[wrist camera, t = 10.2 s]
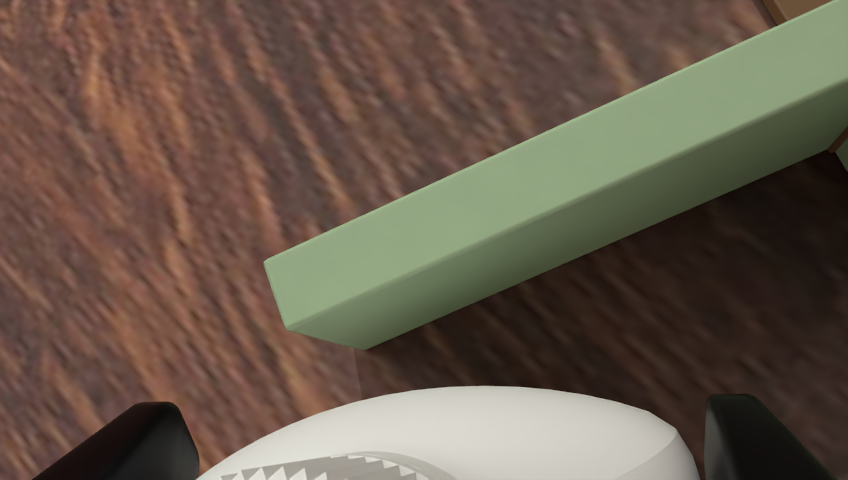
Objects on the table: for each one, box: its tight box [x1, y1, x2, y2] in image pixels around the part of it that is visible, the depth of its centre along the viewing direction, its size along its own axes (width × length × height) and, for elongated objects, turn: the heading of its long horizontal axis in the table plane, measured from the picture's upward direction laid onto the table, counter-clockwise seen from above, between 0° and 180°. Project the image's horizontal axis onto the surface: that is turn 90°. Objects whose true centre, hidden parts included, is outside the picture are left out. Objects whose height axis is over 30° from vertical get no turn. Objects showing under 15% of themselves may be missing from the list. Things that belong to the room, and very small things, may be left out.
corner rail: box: [264, 0, 848, 350], centre depth 12 cm, size 17×17×4 cm
